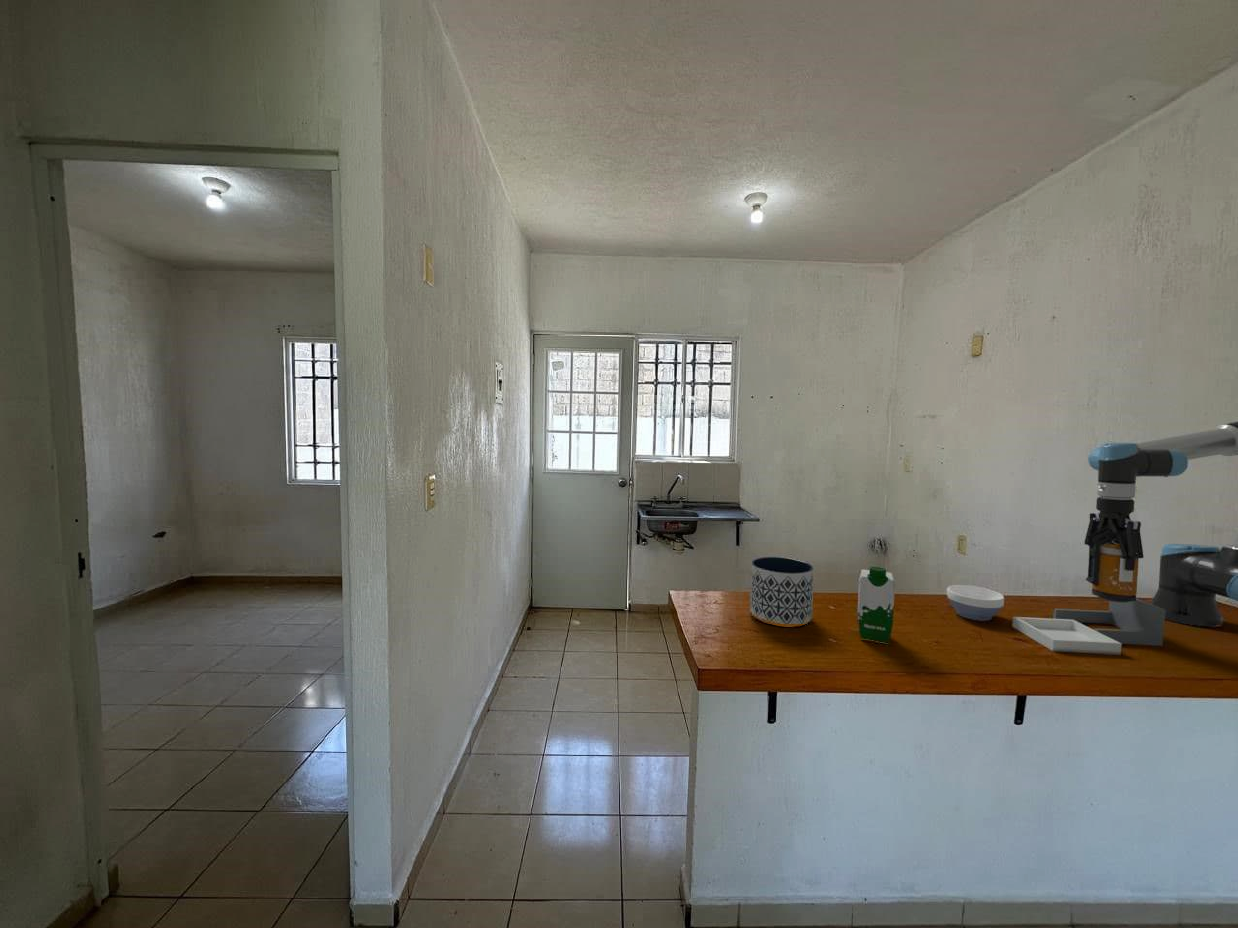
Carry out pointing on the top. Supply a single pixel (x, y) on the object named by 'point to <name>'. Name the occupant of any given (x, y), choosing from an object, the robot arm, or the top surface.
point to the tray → (1066, 635)
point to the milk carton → (876, 604)
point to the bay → (1124, 621)
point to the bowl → (975, 602)
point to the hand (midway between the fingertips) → (1110, 575)
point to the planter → (781, 590)
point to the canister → (1109, 568)
